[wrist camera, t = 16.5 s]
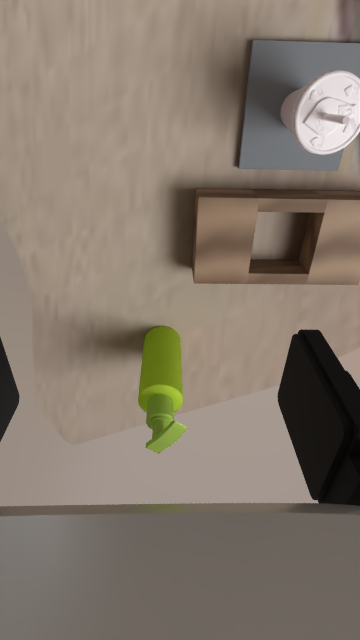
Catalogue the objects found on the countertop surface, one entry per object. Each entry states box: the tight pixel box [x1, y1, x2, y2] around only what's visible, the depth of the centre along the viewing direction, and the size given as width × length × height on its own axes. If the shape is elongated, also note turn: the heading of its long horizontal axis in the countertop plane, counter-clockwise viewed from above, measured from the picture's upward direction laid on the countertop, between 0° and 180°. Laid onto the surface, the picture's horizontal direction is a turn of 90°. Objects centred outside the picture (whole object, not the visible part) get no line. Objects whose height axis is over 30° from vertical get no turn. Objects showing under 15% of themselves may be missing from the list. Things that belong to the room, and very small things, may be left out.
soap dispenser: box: [138, 326, 187, 453], centre depth 48 cm, size 6×7×20 cm
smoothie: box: [280, 70, 360, 155], centre depth 32 cm, size 6×6×14 cm
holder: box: [192, 188, 360, 285], centre depth 45 cm, size 11×22×4 cm, turn 89°
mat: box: [238, 40, 360, 171], centre depth 38 cm, size 12×12×1 cm
